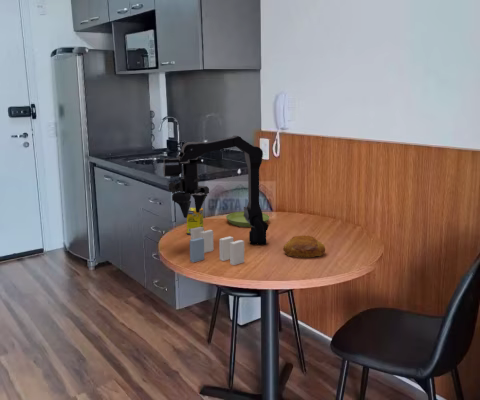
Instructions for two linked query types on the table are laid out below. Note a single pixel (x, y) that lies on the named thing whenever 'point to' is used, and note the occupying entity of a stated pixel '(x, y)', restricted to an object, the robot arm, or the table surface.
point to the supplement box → (194, 219)
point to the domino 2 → (197, 249)
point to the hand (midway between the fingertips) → (191, 215)
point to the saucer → (242, 219)
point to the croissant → (304, 247)
